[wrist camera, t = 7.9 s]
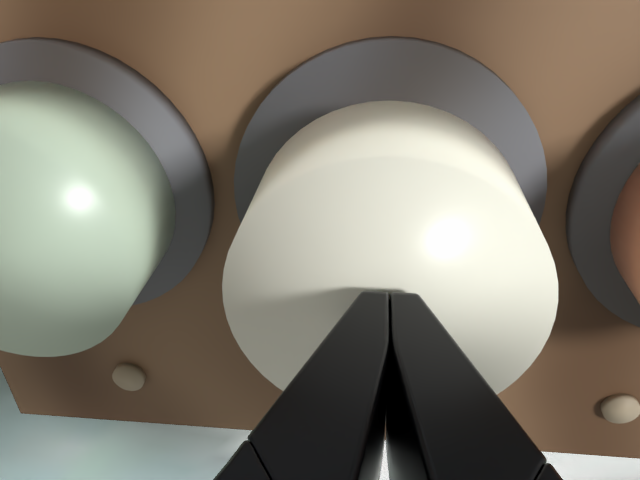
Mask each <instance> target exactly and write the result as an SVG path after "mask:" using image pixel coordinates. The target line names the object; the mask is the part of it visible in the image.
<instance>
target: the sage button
mask: <svg viewBox="0 0 640 480" xmlns="http://www.w3.org/2000/svg"><path fill="white" fill-rule="evenodd" d="M175 214H176V211H175V202H174V196H173V192H172V188H171V184H170V182H169V179H168V177H167V174H166V172H165V170H164V168H163V166H162V164H161V162H160V160H159V158H158V157H157V155H156V154H155V152H154V151H153V149H152V148H151V146H150V145H149V143H148V142H147V141H146V140H145V139H144V138H143V136H142V135H141V134H140V133H139V132H138V131H137V130H136V129H135V128H134V127H133V126H132V125H131V124H130V123H129V122H128V121H127V120H126V119H125V118H123V117H122V116H121V115H119V114H118V113H117V112H115V111H114V110H113V109H112V108H110V107H109V106H107V105H105V104H104V103H102V102H100V101H99V100H97V99H95V98H93V97H91V96H89V95H87V94H85V93H83V92H80V91H78V90H75V89H72V88H69V87H66V86H63V85H59V84H54V83H49V82H41V81H18V82H11V83H7V84H2V85H0V350H2V351H5V352H9V353H14V354H19V355H25V356H34V357H56V356H66V355H70V354H74V353H79V352H82V351H84V350H87V349H89V348H92V347H93V346H95V345H97V344H99V343H101V342H102V341H103V340H105V339H106V338H107V337H108V336H110V335H111V334H112V333H113V331H114V330H115V329H116V328H117V327H118V326H119V324H120V323H121V321H122V320H123V318H124V317H125V315H126V314H127V312H128V310H129V309H130V307H131V306H132V304H133V303H134V301H135V300H136V298H137V297H138V295H139V294H140V292H141V290H142V289H143V287H144V286H145V284H146V283H147V281H148V280H149V278H150V277H151V275H152V274H153V272H154V270H155V269H156V267H157V266H158V264H159V263H160V261H161V260H162V258H163V257H164V255H165V253H166V251H167V250H168V248H169V245H170V243H171V240H172V237H173V233H174V228H175Z"/></svg>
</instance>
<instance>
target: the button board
mask: <svg viewBox="0 0 640 480" xmlns="http://www.w3.org/2000/svg"><path fill="white" fill-rule="evenodd" d="M18 81H41V82H49V83H54V84H59V85H63V86H66V87H69V88H72V89H75V90H78V91H80V92H83V93H85V94H87V95H89V96H91V97H93V98H95V99H97V100H99V101H100V102H102V103H104V104H105V105H107V106H109V107H110V108H112V109H113V110H114V111H115V112H117V113H118V114H119V115H121V116H122V117H123V118H125V119H126V120H127V121H128V122H129V123H130V124H131V125H132V126H133V127H134V128H135V129H136V130H137V131H138V132H139V133H140V134H141V135H142V136H143V138H144V139H145V140H146V141H147V142H148V143H149V145H150V146H151V148H152V149H153V151H154V152H155V154H156V155H157V157H158V158H159V160H160V162H161V164H162V166H163V168H164V170H165V172H166V174H167V177H168V179H169V182H170V184H171V188H172V192H173V196H174V202H175V211H176V214H175V228H174V233H173V237H172V240H171V243H170V245H169V248H168V250H167V251H166V253H165V255H164V257H163V258H162V260H161V261H160V263H159V264H158V266H157V267H156V269H155V270H154V272H153V274H152V275H151V277H150V278H149V280H148V281H147V283H146V284H145V286H144V287H143V289H142V290H141V292H140V294H139V295H138V297H137V298H136V300H135V301H134V303H133V304H132V306H131V307H130V309H129V310H128V312H127V314H126V315H125V317H124V318H123V320H122V321H121V323H120V324H119V326H118V327H117V328H116V329H115V330H114V331H113V333H112V334H111V335H110V336H108V337H107V338H106V339H105V340H103V341H102V342H101V343H99V344H97V345H95V346H93V347H92V348H89V349H87V350H84V351H82V352H79V353H74V354H70V355H66V356H56V357H34V356H25V355H19V354H14V353H9V352H5V351H2V350H0V367H1V369H2V372H3V374H4V376H5V378H6V381H7V383H8V385H9V387H10V390H11V392H12V394H13V396H14V399H15V401H16V403H17V405H18V408H19V410H20V412H21V413H25V414H38V415H52V416H66V417H79V418H93V419H107V420H120V421H134V422H148V423H161V424H175V425H189V426H203V427H216V428H230V429H244V430H253V429H254V428H255V427H256V426H257V424H258V423H259V422H260V421H261V419H262V418H263V417H264V415H265V414H266V413H267V412H268V410H269V409H270V408H271V406H272V405H273V404H274V403H275V401H276V400H277V399H278V397H279V396H280V395H281V394H282V392H283V391H282V390H281V389H279V388H278V387H276V386H275V385H274V384H273V383H271V382H270V381H269V380H268V379H267V378H265V377H264V376H263V375H262V374H261V373H260V372H259V371H258V370H257V369H256V368H255V367H254V365H253V364H252V363H251V362H250V361H249V359H248V358H247V357H246V355H245V354H244V353H243V351H242V350H241V348H240V347H239V345H238V343H237V341H236V340H235V338H234V336H233V334H232V331H231V329H230V326H229V324H228V321H227V318H226V313H225V309H224V304H223V293H222V281H223V271H224V266H225V262H226V258H227V254H228V251H229V249H230V246H231V244H232V242H233V240H234V237H235V235H236V233H237V231H238V229H239V227H240V225H241V222H242V220H243V218H244V216H245V214H246V212H247V210H248V208H249V205H250V203H251V201H252V199H253V197H254V195H255V193H256V191H257V188H258V186H259V184H260V182H261V180H262V178H263V176H264V174H265V171H266V169H267V167H268V166H269V164H270V163H271V161H272V160H273V158H274V156H275V155H276V153H277V152H278V151H279V150H280V149H281V148H282V146H283V145H284V144H285V143H286V142H287V141H288V140H289V139H290V138H291V137H292V136H293V135H295V134H296V133H297V132H298V131H299V130H300V129H302V128H303V127H305V126H306V125H308V124H309V123H311V122H313V121H314V120H316V119H317V118H320V117H322V116H324V115H326V114H328V113H330V112H332V111H335V110H338V109H341V108H344V107H347V106H350V105H355V104H360V103H366V102H371V101H390V100H391V101H405V102H413V103H418V104H423V105H428V106H432V107H435V108H437V109H440V110H443V111H446V112H449V113H451V114H453V115H455V116H457V117H459V118H460V119H462V120H464V121H466V122H468V123H469V124H470V125H472V126H473V127H475V128H476V129H478V130H479V131H480V132H482V133H483V134H484V135H485V136H486V137H487V138H488V139H489V140H490V141H491V142H492V143H493V144H494V145H495V146H496V147H497V149H498V150H499V151H500V152H501V154H502V155H503V156H504V157H505V159H506V161H507V163H508V164H509V166H510V168H511V170H512V171H513V173H514V175H515V177H516V179H517V182H518V184H519V186H520V188H521V190H522V192H523V194H524V196H525V198H526V200H527V202H528V204H529V207H530V209H531V211H532V213H533V215H534V217H535V219H536V221H537V223H538V225H539V227H540V230H541V232H542V234H543V236H544V238H545V240H546V242H547V244H548V246H549V249H550V252H551V255H552V257H553V260H554V263H555V267H556V273H557V278H558V306H557V312H556V318H555V321H554V324H553V327H552V330H551V333H550V336H549V338H548V339H547V341H546V343H545V345H544V347H543V349H542V351H541V352H540V354H539V355H538V356H537V358H536V359H535V360H534V362H533V363H532V364H531V366H530V367H529V368H528V369H527V370H526V371H525V372H524V373H523V374H522V375H521V376H520V377H519V378H518V379H517V380H516V381H515V382H513V383H512V384H511V385H510V386H508V387H507V388H506V389H505V390H503V391H502V392H500V393H499V394H497V396H498V397H499V398H500V400H501V401H502V402H503V403H504V405H505V406H506V407H507V409H508V410H509V411H510V412H511V414H512V415H513V416H514V418H515V419H516V420H517V421H518V423H519V424H520V425H521V427H522V428H523V429H524V430H525V432H526V433H527V434H528V436H529V437H530V438H531V440H532V441H533V442H534V443H535V445H536V446H537V447H538V449H539V450H540V451H545V452H558V453H572V454H586V455H599V456H613V457H627V458H640V304H639V303H638V301H637V300H636V298H635V296H634V295H633V293H632V292H631V290H630V289H629V287H628V285H627V284H626V282H625V281H624V279H623V278H622V276H621V274H620V273H619V271H618V269H617V267H616V265H615V262H614V259H613V256H612V252H611V245H610V225H611V220H612V215H613V211H614V208H615V205H616V203H617V200H618V197H619V195H620V193H621V191H622V189H623V187H624V185H625V183H626V182H627V180H628V178H629V177H630V176H631V174H632V173H633V171H634V170H635V168H636V167H637V166H638V164H639V163H640V0H0V85H2V84H7V83H11V82H18ZM385 440H386V423H385Z"/></svg>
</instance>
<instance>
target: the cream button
mask: <svg viewBox="0 0 640 480" xmlns="http://www.w3.org/2000/svg"><path fill="white" fill-rule="evenodd" d="M362 291H379V292H387V293H388V294H389V298H390V295H391V293H393V292H402V293H417V294H418V295H420V297H421V298H422V299H423V300H424V302H425V303H426V304H427V306H428V307H429V308H430V309H431V311H432V312H433V313H434V315H435V316H436V317H437V318H438V320H439V321H440V322H441V324H442V325H443V326H444V327H445V329H446V330H447V331H448V333H449V334H450V335H451V336H452V338H453V339H454V340H455V342H456V343H457V344H458V346H459V347H460V348H461V349H462V351H463V352H464V353H465V355H466V356H467V357H468V358H469V360H470V361H471V362H472V364H473V365H474V366H475V367H476V369H477V370H478V371H479V373H480V374H481V375H482V376H483V378H484V379H485V380H486V382H487V383H488V384H489V385H490V387H491V388H492V389H493V391H494V392H495V393H496V394H499V393H500V392H502V391H503V390H505V389H506V388H507V387H508V386H510V385H511V384H512V383H513V382H515V381H516V380H517V379H518V378H519V377H520V376H521V375H522V374H523V373H524V372H525V371H526V370H527V369H528V368H529V367H530V366H531V364H532V363H533V362H534V360H535V359H536V358H537V356H538V355H539V354H540V352H541V351H542V349H543V347H544V345H545V343H546V341H547V339H548V338H549V336H550V333H551V330H552V327H553V324H554V321H555V318H556V312H557V306H558V278H557V273H556V267H555V263H554V260H553V257H552V255H551V252H550V249H549V246H548V244H547V242H546V240H545V238H544V236H543V234H542V232H541V230H540V227H539V225H538V223H537V221H536V219H535V217H534V215H533V213H532V211H531V209H530V207H529V204H528V202H527V200H526V198H525V196H524V194H523V192H522V190H521V188H520V186H519V184H518V182H517V179H516V177H515V175H514V173H513V171H512V170H511V168H510V166H509V164H508V163H507V161H506V159H505V157H504V156H503V155H502V154H501V152H500V151H499V150H498V149H497V147H496V146H495V145H494V144H493V143H492V142H491V141H490V140H489V139H488V138H487V137H486V136H485V135H484V134H483V133H482V132H480V131H479V130H478V129H476V128H475V127H473V126H472V125H470V124H469V123H468V122H466V121H464V120H462V119H460V118H459V117H457V116H455V115H453V114H451V113H449V112H446V111H443V110H440V109H437V108H435V107H432V106H428V105H423V104H418V103H413V102H405V101H391V100H390V101H371V102H366V103H360V104H355V105H350V106H347V107H344V108H341V109H338V110H335V111H332V112H330V113H328V114H326V115H324V116H322V117H320V118H317V119H316V120H314V121H313V122H311V123H309V124H308V125H306V126H305V127H303V128H302V129H300V130H299V131H298V132H297V133H296V134H295V135H293V136H292V137H291V138H290V139H289V140H288V141H287V142H286V143H285V144H284V145H283V146H282V148H281V149H280V150H279V151H278V152H277V153H276V155H275V156H274V158H273V160H272V161H271V163H270V164H269V166H268V167H267V169H266V171H265V174H264V176H263V178H262V180H261V182H260V184H259V186H258V188H257V191H256V193H255V195H254V197H253V199H252V201H251V203H250V205H249V208H248V210H247V212H246V214H245V216H244V218H243V220H242V222H241V225H240V227H239V229H238V231H237V233H236V235H235V237H234V240H233V242H232V244H231V246H230V249H229V251H228V254H227V258H226V262H225V266H224V271H223V281H222V293H223V304H224V309H225V313H226V318H227V321H228V324H229V326H230V329H231V331H232V334H233V336H234V338H235V340H236V341H237V343H238V345H239V347H240V348H241V350H242V351H243V353H244V354H245V355H246V357H247V358H248V359H249V361H250V362H251V363H252V364H253V365H254V367H255V368H256V369H257V370H258V371H259V372H260V373H261V374H262V375H263V376H264V377H265V378H267V379H268V380H269V381H270V382H271V383H273V384H274V385H275V386H276V387H278V388H279V389H281V390H282V391H284V390H285V388H286V387H287V386H288V385H289V383H290V382H291V381H292V379H293V378H294V377H295V376H296V374H297V373H298V372H299V371H300V369H301V368H302V367H303V365H304V364H305V363H306V362H307V360H308V359H309V358H310V356H311V355H312V354H313V353H314V351H315V350H316V349H317V347H318V346H319V345H320V344H321V342H322V341H323V340H324V338H325V337H326V336H327V335H328V333H329V332H330V331H331V330H332V328H333V327H334V326H335V324H336V323H337V322H338V321H339V319H340V318H341V317H342V315H343V314H344V313H345V312H346V310H347V309H348V308H349V306H350V305H351V304H352V303H353V301H354V300H355V299H356V297H357V296H358V295H359V294H360V293H361V292H362ZM385 423H386V422H385Z"/></svg>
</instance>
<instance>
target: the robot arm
mask: <svg viewBox="0 0 640 480" xmlns="http://www.w3.org/2000/svg"><path fill="white" fill-rule="evenodd" d="M385 422H386V450H387V461H388V470H389V479H390V480H563V479H562V478H561V477H560V475H559V474H558V473H557V471H556V470H555V469H554V467H553V466H552V465H551V464H549V463H546V462H547V460H546V458H545V456H544V455H543V454H542V452H541V451H540V450H539V449H538V447H537V446H536V445H535V443H534V442H533V441H532V440H531V438H530V437H529V436H528V434H527V433H526V432H525V430H524V429H523V428H522V427H521V425H520V424H519V423H518V421H517V420H516V419H515V418H514V416H513V415H512V414H511V412H510V411H509V410H508V409H507V407H506V406H505V405H504V403H503V402H502V401H501V400H500V398H499V397H498V396H497V394H496V393H495V392H494V391H493V389H492V388H491V387H490V385H489V384H488V383H487V382H486V380H485V379H484V378H483V376H482V375H481V374H480V373H479V371H478V370H477V369H476V367H475V366H474V365H473V364H472V362H471V361H470V360H469V358H468V357H467V356H466V355H465V353H464V352H463V351H462V349H461V348H460V347H459V346H458V344H457V343H456V342H455V340H454V339H453V338H452V336H451V335H450V334H449V333H448V331H447V330H446V329H445V327H444V326H443V325H442V324H441V322H440V321H439V320H438V318H437V317H436V316H435V315H434V313H433V312H432V311H431V309H430V308H429V307H428V306H427V304H426V303H425V302H424V300H423V299H422V298H421V297H420V295H418V294H417V293H402V292H393V293H391V295H390V298H389V294H388V293H387V292H379V291H362V292H361V293H360V294H359V295H358V296H357V297H356V299H355V300H354V301H353V303H352V304H351V305H350V306H349V308H348V309H347V310H346V312H345V313H344V314H343V315H342V317H341V318H340V319H339V321H338V322H337V323H336V324H335V326H334V327H333V328H332V330H331V331H330V332H329V333H328V335H327V336H326V337H325V338H324V340H323V341H322V342H321V344H320V345H319V346H318V347H317V349H316V350H315V351H314V353H313V354H312V355H311V356H310V358H309V359H308V360H307V362H306V363H305V364H304V365H303V367H302V368H301V369H300V371H299V372H298V373H297V374H296V376H295V377H294V378H293V379H292V381H291V382H290V383H289V385H288V386H287V387H286V388H285V390H284V391H283V392H282V394H281V395H280V396H279V397H278V399H277V400H276V401H275V403H274V404H273V405H272V406H271V408H270V409H269V410H268V412H267V413H266V414H265V415H264V417H263V418H262V419H261V421H260V422H259V423H258V424H257V426H256V427H255V428H254V429H253V431H252V432H251V433H250V435H249V436H248V441H244V442H243V443H242V444H241V446H240V447H239V448H238V450H237V451H236V452H235V453H234V455H233V456H232V457H231V459H230V460H229V461H228V462H227V464H226V465H225V466H224V467H223V469H222V470H221V471H220V472H219V473H218V475H217V476H216V477H215V478H214V479H213V480H379V478H380V471H381V464H382V458H383V449H384V440H385Z"/></svg>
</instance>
